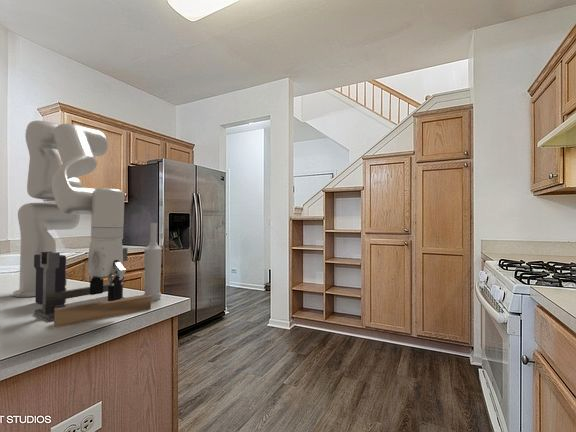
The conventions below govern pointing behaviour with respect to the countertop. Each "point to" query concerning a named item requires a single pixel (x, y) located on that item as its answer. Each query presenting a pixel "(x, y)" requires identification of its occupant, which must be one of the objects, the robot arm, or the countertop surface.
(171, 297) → the countertop surface
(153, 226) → the bottle
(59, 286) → the black notched bar
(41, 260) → the hook stand
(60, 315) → the rail
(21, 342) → the countertop surface
